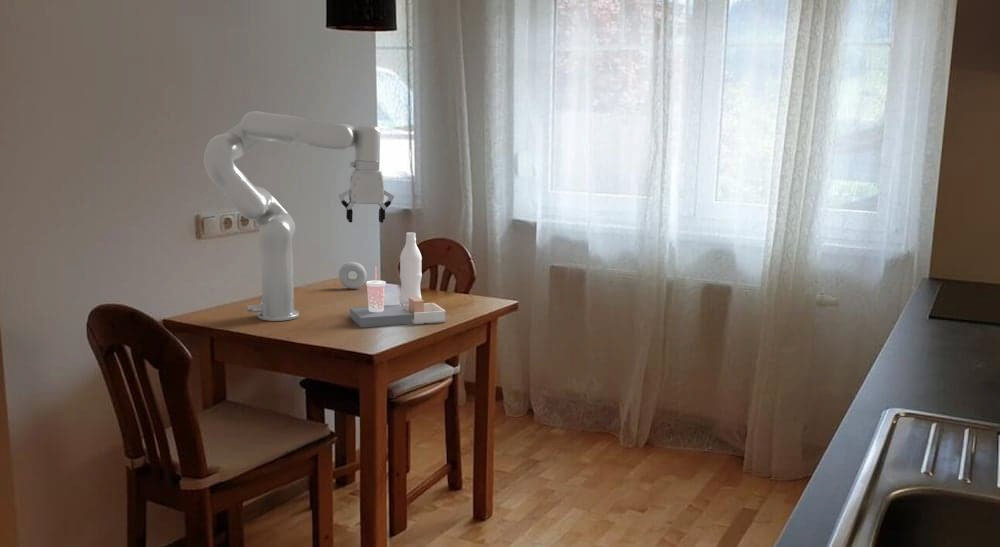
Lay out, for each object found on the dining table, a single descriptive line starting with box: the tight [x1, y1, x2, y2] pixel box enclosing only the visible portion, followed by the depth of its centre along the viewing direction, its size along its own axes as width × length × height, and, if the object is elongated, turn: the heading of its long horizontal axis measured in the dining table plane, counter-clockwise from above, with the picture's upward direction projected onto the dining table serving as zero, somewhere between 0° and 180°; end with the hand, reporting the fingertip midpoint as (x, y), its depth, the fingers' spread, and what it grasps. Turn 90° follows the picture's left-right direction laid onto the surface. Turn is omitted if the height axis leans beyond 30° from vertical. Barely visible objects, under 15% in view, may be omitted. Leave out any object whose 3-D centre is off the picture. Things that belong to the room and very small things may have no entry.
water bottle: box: [399, 231, 423, 307], centre depth 293 cm, size 7×7×25 cm
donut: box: [338, 261, 368, 290], centre depth 322 cm, size 10×4×10 cm, turn 95°
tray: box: [403, 302, 447, 325], centre depth 280 cm, size 10×12×4 cm
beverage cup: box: [365, 265, 387, 312], centre depth 276 cm, size 6×6×14 cm
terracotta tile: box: [409, 297, 425, 320], centre depth 279 cm, size 6×6×3 cm
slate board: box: [349, 304, 413, 328], centre depth 277 cm, size 16×14×3 cm
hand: (365, 222), depth 276 cm, fingers open, 9 cm apart
